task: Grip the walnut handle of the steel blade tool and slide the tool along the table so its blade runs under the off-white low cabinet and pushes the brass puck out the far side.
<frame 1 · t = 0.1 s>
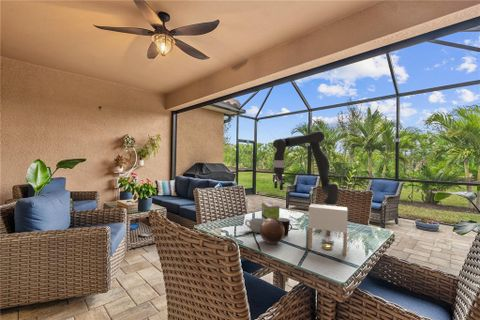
hand: (278, 189, 164), 29 cm above the table, fingers open, 8 cm apart
tea box: (269, 222, 184), on the table
teacup: (255, 231, 160), on the table
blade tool: (328, 234, 155), on the table
wooden sphere: (271, 243, 138), on the table
brass puck: (326, 248, 132), on the table
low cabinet: (326, 248, 131), on the table
coffee mug: (283, 235, 153), on the table
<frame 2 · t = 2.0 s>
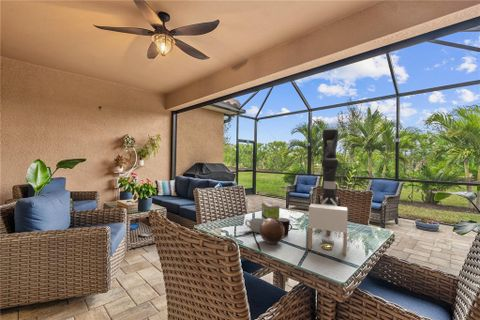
hand: (328, 211, 155), 16 cm above the table, fingers open, 8 cm apart
nothing on the table moved.
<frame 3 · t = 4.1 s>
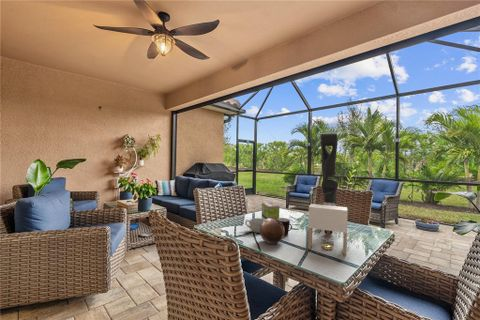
hand: (328, 233, 155), 1 cm above the table, fingers closed on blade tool, 2 cm apart
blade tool: (328, 234, 155), on the table, touching gripper
everything else where it was.
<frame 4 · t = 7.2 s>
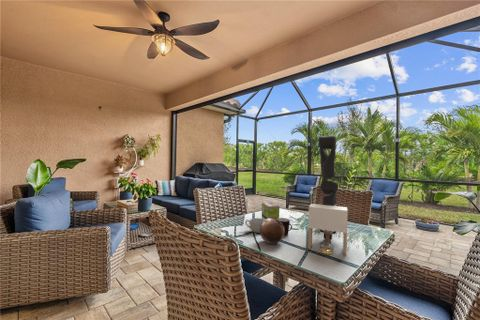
hand: (327, 239, 144), 1 cm above the table, fingers closed on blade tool, 2 cm apart
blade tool: (327, 240, 145), on the table, touching brass puck, gripper
brass puck: (326, 252, 126), on the table, touching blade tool
everything else where it was.
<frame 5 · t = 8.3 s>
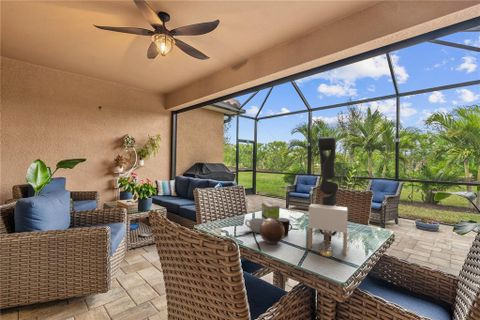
hand: (327, 241, 141), 1 cm above the table, fingers closed on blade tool
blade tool: (327, 241, 143), on the table, touching gripper
brass puck: (326, 254, 123), on the table
everything else where it was.
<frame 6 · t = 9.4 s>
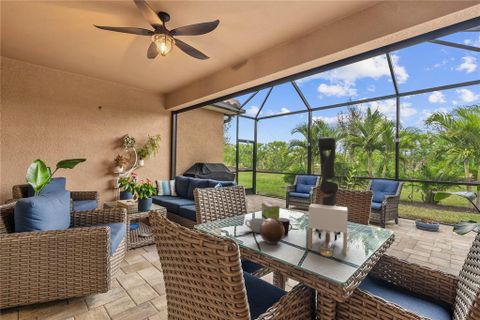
hand: (327, 239, 141), 2 cm above the table, fingers open, 8 cm apart
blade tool: (327, 241, 142), on the table
everything else where it was.
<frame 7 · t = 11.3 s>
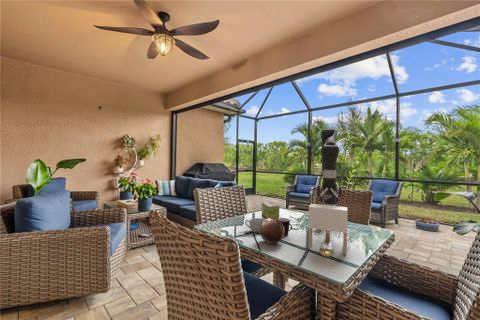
hand: (329, 202, 144), 24 cm above the table, fingers open, 8 cm apart
nothing on the table moved.
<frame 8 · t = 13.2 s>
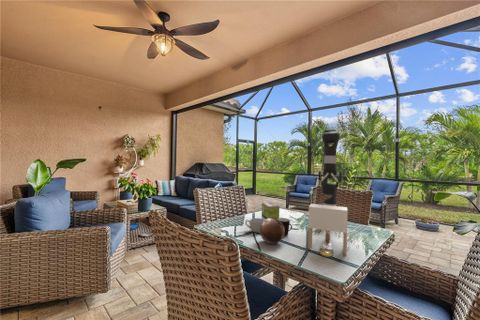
hand: (329, 187, 150), 33 cm above the table, fingers open, 8 cm apart
nothing on the table moved.
at the end: brass puck inside the target area (1.6 cm from its centre), on the table; brass puck moved 10.0 cm from its start; the gripper is holding nothing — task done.
